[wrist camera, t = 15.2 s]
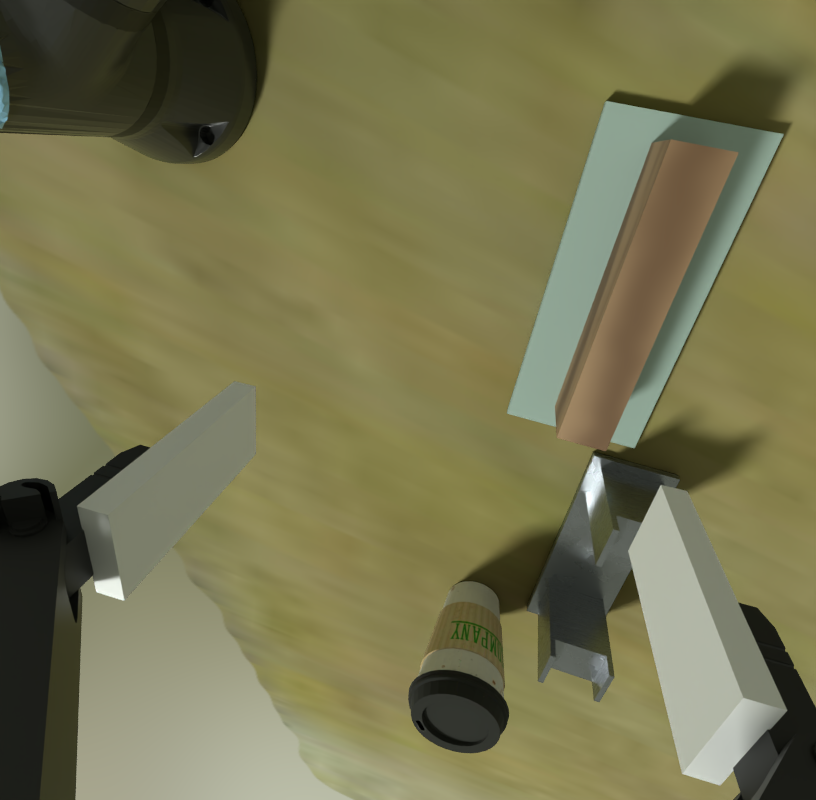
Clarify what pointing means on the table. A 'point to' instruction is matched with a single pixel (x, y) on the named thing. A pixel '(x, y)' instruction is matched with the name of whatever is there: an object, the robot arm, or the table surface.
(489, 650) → the coffee cup
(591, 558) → the standards
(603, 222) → the mat
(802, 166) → the table surface
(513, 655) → the table surface
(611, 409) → the rail
